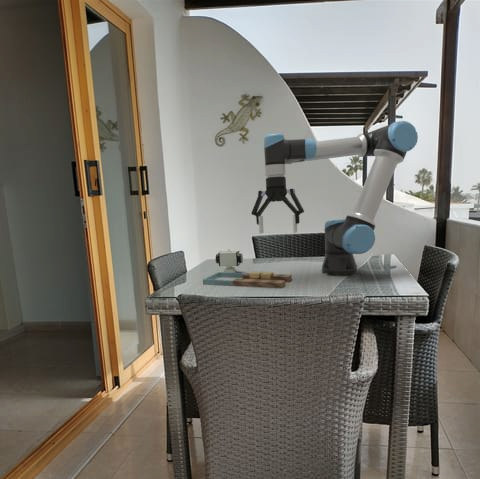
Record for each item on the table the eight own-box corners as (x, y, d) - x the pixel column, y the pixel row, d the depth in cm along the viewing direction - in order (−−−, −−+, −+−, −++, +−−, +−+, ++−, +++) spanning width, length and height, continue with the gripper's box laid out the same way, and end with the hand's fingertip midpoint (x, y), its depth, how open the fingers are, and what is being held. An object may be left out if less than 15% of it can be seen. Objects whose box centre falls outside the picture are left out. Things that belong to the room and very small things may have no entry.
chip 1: (262, 281, 143) (262, 271, 143) (259, 283, 139) (259, 273, 139) (253, 280, 145) (253, 271, 144) (250, 283, 141) (249, 273, 140)
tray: (246, 280, 151) (245, 273, 151) (232, 288, 139) (232, 280, 138) (218, 278, 156) (218, 272, 156) (203, 286, 144) (202, 279, 143)
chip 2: (273, 281, 141) (273, 271, 141) (270, 284, 138) (270, 274, 137) (264, 281, 143) (263, 271, 142) (261, 283, 139) (260, 273, 139)
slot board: (291, 281, 144) (291, 274, 143) (282, 291, 131) (281, 283, 130) (246, 280, 151) (245, 273, 151) (232, 288, 139) (232, 280, 138)
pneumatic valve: (241, 276, 159) (240, 249, 157) (216, 276, 161) (214, 250, 160) (244, 273, 164) (242, 248, 163) (219, 273, 167) (218, 248, 165)
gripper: (310, 174, 132) (312, 231, 135) (248, 179, 142) (251, 232, 145) (306, 173, 125) (308, 233, 128) (241, 178, 135) (244, 234, 138)
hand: (278, 232), depth 136 cm, fingers open, 13 cm apart
